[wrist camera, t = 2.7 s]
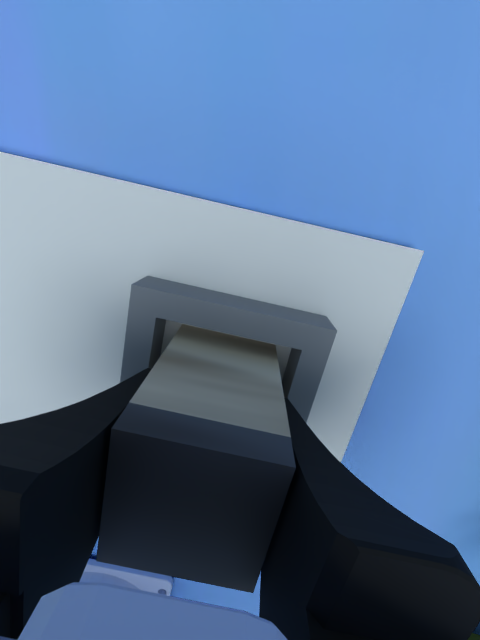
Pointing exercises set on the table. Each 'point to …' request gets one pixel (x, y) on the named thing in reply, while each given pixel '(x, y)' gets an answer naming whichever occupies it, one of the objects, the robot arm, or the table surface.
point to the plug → (200, 463)
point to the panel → (182, 292)
